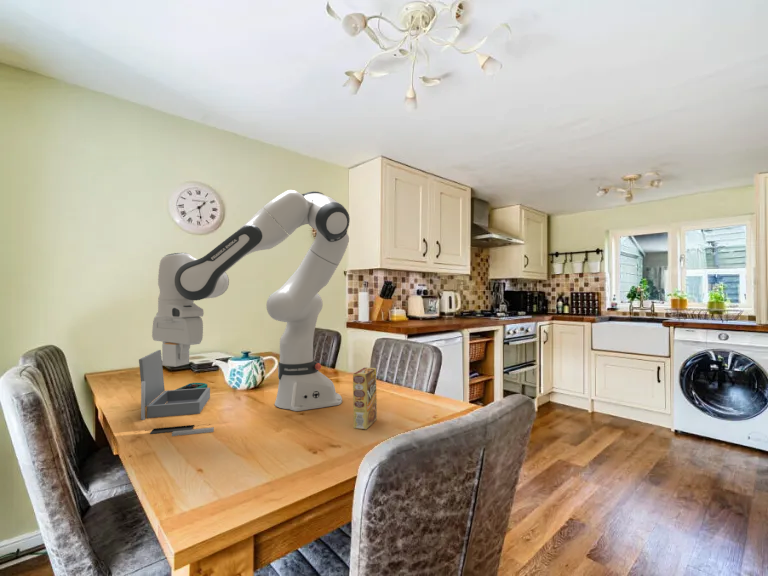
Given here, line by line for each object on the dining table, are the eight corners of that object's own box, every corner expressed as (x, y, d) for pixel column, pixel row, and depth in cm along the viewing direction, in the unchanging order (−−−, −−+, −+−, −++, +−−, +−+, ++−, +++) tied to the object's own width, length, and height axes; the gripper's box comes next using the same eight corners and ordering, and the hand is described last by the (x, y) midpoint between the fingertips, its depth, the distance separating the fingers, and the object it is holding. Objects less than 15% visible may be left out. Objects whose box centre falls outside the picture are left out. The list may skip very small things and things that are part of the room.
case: (210, 400, 129) (210, 366, 129) (198, 418, 110) (198, 378, 110) (161, 404, 125) (161, 368, 125) (140, 423, 106) (140, 382, 106)
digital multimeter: (208, 389, 145) (208, 382, 145) (185, 400, 130) (185, 392, 130) (190, 389, 146) (190, 382, 146) (166, 400, 131) (166, 392, 131)
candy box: (366, 430, 101) (366, 374, 101) (352, 428, 102) (352, 373, 102) (377, 419, 109) (377, 367, 109) (363, 418, 110) (363, 366, 111)
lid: (160, 349, 125) (156, 350, 125) (141, 359, 108) (137, 359, 107) (164, 390, 125) (160, 391, 125) (146, 406, 108) (141, 407, 108)
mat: (198, 418, 111) (198, 416, 111) (191, 430, 101) (191, 428, 101) (161, 421, 108) (161, 420, 108) (150, 434, 98) (150, 432, 98)
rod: (213, 431, 101) (213, 427, 101) (213, 433, 100) (213, 428, 100) (172, 435, 98) (173, 431, 98) (171, 437, 97) (171, 432, 97)
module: (189, 363, 106) (189, 342, 106) (175, 366, 102) (175, 344, 102) (176, 362, 108) (176, 341, 108) (162, 365, 104) (162, 343, 104)
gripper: (145, 309, 108) (145, 356, 108) (184, 311, 97) (184, 363, 97) (168, 308, 113) (168, 353, 113) (207, 310, 102) (207, 360, 102)
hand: (176, 358), depth 105 cm, fingers closed on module, 5 cm apart
